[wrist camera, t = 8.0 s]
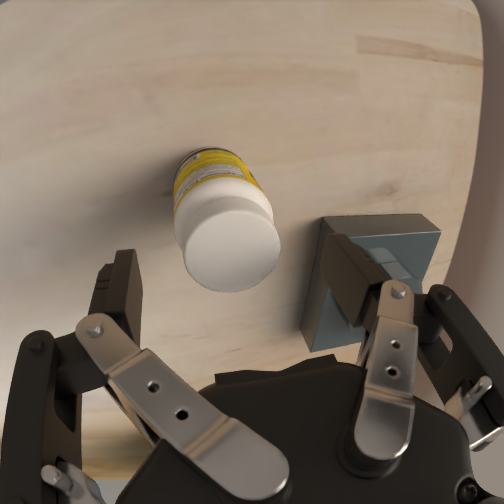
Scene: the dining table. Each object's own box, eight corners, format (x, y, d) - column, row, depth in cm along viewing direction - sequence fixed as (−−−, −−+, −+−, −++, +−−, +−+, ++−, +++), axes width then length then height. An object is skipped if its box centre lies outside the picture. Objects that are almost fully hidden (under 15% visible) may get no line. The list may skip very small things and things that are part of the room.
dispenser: (322, 216, 23) (353, 254, 19) (421, 213, 25) (457, 244, 21) (299, 329, 29) (317, 370, 25) (385, 313, 31) (407, 346, 27)
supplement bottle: (246, 212, 21) (283, 295, 14) (176, 217, 20) (179, 306, 14) (250, 143, 19) (295, 199, 12) (172, 146, 18) (168, 206, 11)
